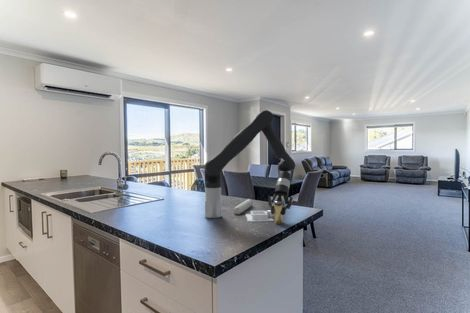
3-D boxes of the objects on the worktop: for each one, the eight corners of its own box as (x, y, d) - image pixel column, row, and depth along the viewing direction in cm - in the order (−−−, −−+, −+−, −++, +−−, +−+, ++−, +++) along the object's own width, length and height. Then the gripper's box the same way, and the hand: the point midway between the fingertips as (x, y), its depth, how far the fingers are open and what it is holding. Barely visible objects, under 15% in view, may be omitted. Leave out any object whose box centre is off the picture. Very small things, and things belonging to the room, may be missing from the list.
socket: (247, 221, 141) (247, 213, 141) (245, 215, 155) (245, 208, 155) (280, 221, 142) (280, 213, 142) (274, 214, 156) (274, 207, 156)
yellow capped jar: (274, 224, 136) (274, 202, 136) (272, 221, 142) (272, 200, 141) (285, 224, 136) (284, 202, 136) (282, 221, 142) (282, 200, 142)
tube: (241, 209, 155) (254, 200, 178) (233, 205, 157) (247, 197, 180) (239, 217, 156) (251, 207, 179) (231, 213, 158) (244, 204, 181)
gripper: (268, 183, 148) (263, 209, 137) (294, 184, 143) (290, 211, 132) (271, 191, 153) (265, 216, 142) (296, 192, 148) (292, 219, 137)
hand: (277, 213), depth 137 cm, fingers open, 5 cm apart
